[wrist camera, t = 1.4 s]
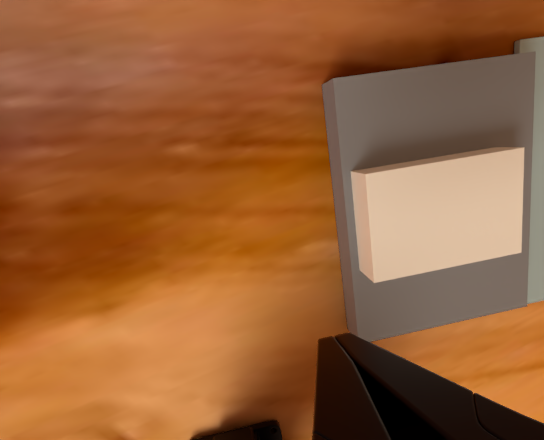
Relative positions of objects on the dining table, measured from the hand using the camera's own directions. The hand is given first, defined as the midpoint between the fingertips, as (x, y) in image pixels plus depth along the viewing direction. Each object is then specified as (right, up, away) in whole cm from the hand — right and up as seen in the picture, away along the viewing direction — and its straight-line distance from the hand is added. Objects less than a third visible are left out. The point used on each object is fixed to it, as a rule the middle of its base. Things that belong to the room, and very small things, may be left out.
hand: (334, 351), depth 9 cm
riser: (+8, +5, +14) cm, 17 cm away
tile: (+8, +4, +11) cm, 14 cm away
